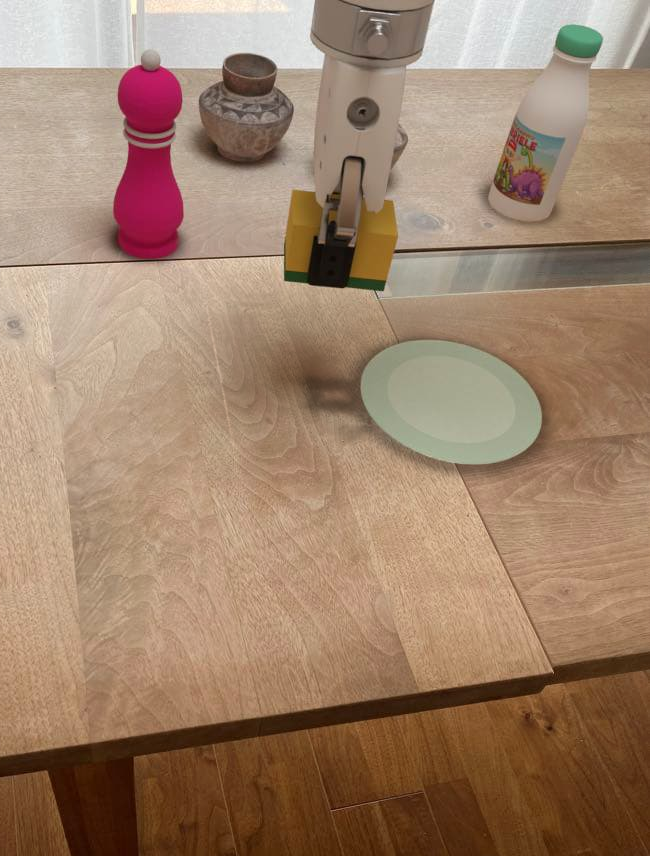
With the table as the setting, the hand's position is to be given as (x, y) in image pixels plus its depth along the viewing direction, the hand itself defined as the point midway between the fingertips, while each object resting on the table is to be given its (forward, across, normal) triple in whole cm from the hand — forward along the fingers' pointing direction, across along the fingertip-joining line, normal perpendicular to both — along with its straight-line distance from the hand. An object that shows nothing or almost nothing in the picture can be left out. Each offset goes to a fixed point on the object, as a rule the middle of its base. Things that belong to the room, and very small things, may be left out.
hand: (325, 261), depth 71 cm
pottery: (+14, +41, 0) cm, 43 cm away
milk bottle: (+14, +37, -27) cm, 48 cm away
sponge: (+1, 0, -1) cm, 1 cm away
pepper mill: (+14, +21, +16) cm, 30 cm away
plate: (+14, 0, -14) cm, 20 cm away
